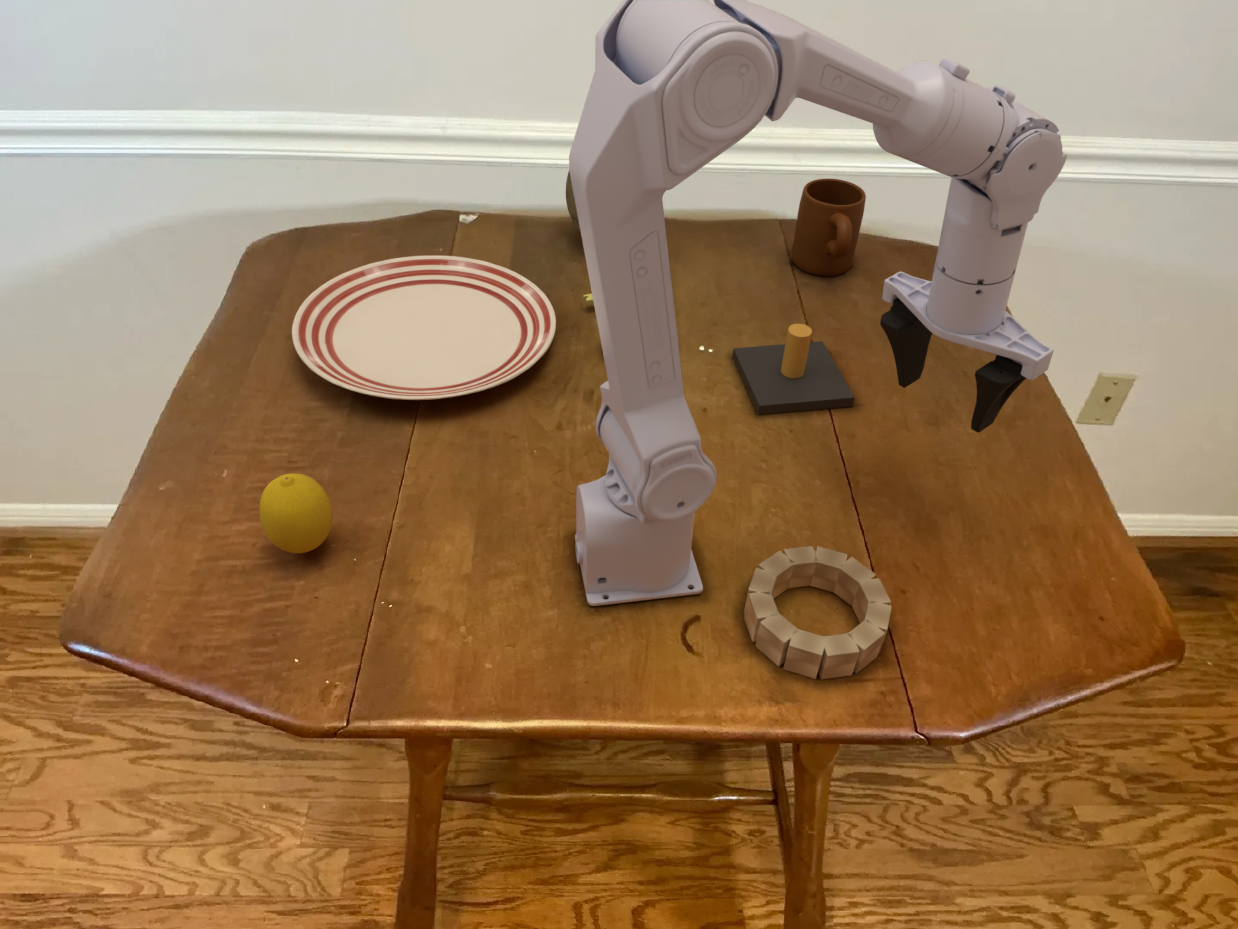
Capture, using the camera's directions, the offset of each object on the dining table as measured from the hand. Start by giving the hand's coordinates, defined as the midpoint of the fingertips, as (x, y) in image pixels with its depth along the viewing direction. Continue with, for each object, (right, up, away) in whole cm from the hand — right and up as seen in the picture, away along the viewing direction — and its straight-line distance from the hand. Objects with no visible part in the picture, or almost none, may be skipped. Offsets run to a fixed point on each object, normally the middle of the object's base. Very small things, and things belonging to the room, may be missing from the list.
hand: (944, 402), depth 80 cm
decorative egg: (-29, +23, +41) cm, 55 cm away
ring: (-12, -18, -5) cm, 22 cm away
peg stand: (-10, +4, +19) cm, 22 cm away
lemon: (-54, -12, 0) cm, 55 cm away
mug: (-2, +18, +36) cm, 41 cm away
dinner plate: (-48, +8, +23) cm, 54 cm away
